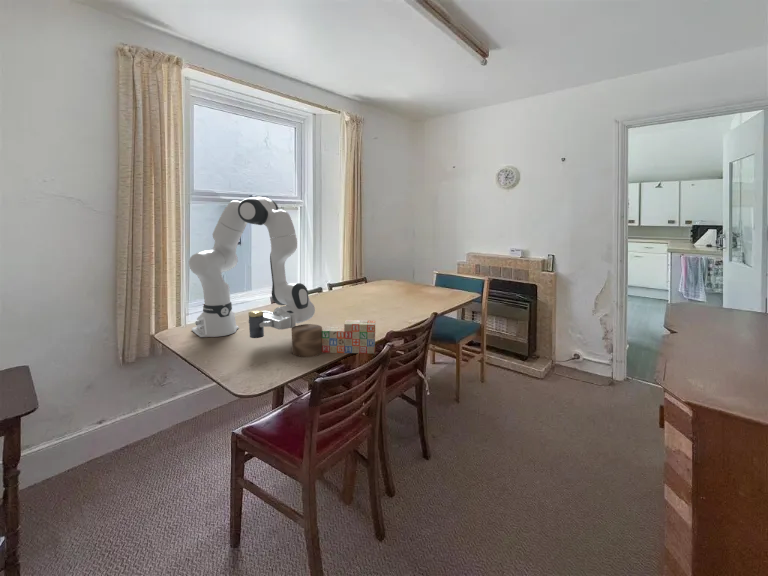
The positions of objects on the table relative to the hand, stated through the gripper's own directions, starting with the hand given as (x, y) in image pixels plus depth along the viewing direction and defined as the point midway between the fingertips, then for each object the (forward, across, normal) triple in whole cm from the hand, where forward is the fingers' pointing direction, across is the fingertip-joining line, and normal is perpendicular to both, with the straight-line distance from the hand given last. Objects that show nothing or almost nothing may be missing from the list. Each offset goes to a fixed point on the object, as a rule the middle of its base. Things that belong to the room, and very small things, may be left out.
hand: (254, 323), depth 155 cm
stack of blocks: (-24, +30, +11) cm, 40 cm away
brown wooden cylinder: (-12, +18, +11) cm, 24 cm away
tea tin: (-1, 0, +6) cm, 6 cm away
